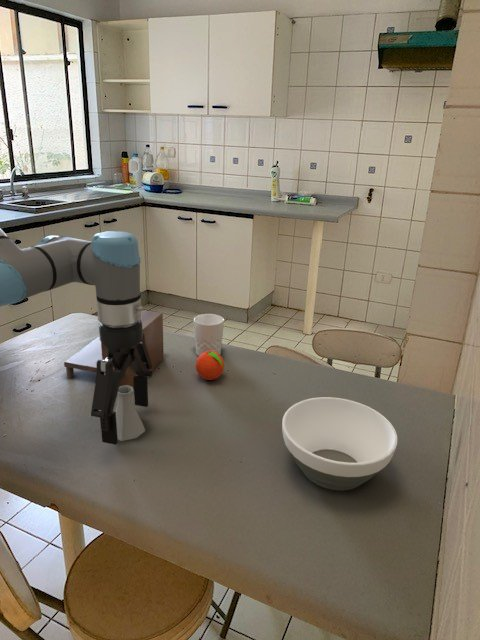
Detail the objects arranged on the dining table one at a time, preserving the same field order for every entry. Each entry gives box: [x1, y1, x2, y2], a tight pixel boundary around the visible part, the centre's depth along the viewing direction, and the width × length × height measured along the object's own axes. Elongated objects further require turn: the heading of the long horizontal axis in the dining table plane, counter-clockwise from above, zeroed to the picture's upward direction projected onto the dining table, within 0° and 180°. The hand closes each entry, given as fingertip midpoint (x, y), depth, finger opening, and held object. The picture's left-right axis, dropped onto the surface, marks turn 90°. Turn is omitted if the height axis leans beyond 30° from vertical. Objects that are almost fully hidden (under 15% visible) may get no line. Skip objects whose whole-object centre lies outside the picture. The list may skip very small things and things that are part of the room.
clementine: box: [195, 351, 225, 381], centre depth 111 cm, size 8×7×7 cm
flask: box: [114, 385, 146, 442], centre depth 89 cm, size 7×7×10 cm
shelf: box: [63, 310, 165, 389], centre depth 113 cm, size 17×18×13 cm
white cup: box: [193, 313, 225, 357], centre depth 124 cm, size 8×8×10 cm
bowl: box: [281, 396, 398, 491], centre depth 82 cm, size 20×20×10 cm
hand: (126, 422), depth 90 cm, fingers open, 12 cm apart
